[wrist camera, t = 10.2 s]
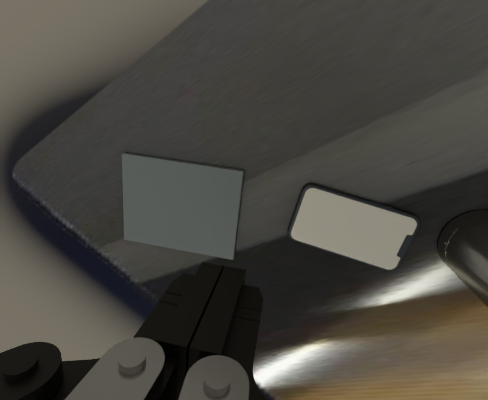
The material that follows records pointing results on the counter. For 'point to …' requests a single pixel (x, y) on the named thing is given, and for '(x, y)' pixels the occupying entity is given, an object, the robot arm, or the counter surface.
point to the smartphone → (352, 227)
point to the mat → (181, 204)
